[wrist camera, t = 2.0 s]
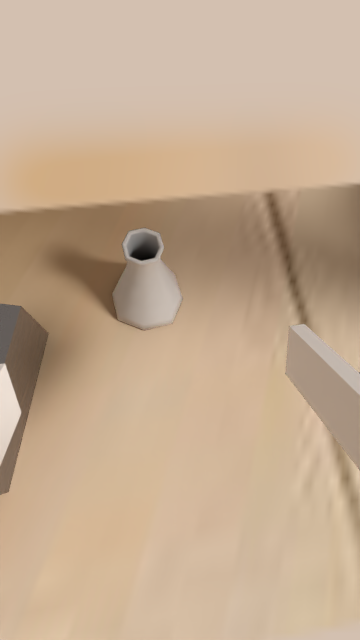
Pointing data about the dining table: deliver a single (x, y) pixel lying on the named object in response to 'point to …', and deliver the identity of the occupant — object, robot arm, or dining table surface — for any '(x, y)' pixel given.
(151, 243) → the flask
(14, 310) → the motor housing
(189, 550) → the dining table surface
